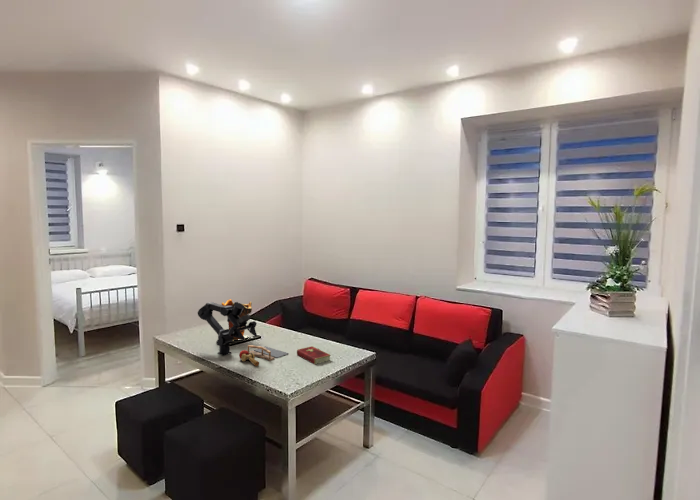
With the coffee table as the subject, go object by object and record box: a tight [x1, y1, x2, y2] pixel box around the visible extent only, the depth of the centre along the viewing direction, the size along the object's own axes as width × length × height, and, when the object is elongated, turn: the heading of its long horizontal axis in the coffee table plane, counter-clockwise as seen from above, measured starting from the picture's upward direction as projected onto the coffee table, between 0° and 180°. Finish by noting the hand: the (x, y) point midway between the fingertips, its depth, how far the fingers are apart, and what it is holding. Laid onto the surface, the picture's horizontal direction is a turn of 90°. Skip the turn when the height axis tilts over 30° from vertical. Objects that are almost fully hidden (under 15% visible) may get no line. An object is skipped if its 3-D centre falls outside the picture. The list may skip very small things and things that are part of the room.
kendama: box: [238, 349, 260, 367], centre depth 249 cm, size 8×6×18 cm
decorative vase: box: [221, 299, 253, 342], centre depth 295 cm, size 21×23×28 cm
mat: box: [253, 345, 289, 359], centre depth 267 cm, size 22×10×1 cm, turn 55°
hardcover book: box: [296, 346, 331, 365], centre depth 259 cm, size 12×21×4 cm, turn 39°
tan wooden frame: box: [247, 344, 275, 361], centre depth 259 cm, size 21×4×6 cm, turn 55°
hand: (250, 337), depth 247 cm, fingers open, 9 cm apart
